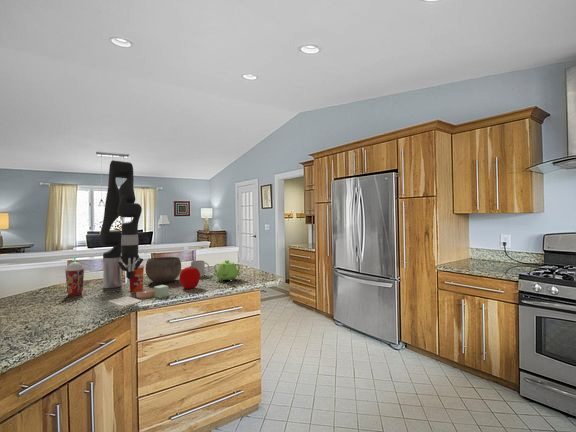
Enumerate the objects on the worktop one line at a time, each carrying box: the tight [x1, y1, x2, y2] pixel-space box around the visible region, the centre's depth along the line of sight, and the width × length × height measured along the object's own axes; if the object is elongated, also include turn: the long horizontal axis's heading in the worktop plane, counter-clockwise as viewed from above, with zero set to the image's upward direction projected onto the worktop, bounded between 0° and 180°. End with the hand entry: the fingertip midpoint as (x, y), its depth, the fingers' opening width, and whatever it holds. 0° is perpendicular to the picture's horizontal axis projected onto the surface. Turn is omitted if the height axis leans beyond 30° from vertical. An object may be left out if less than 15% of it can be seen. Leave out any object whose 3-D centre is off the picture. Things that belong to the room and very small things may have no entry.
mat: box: [108, 295, 142, 307], centre depth 155 cm, size 17×26×1 cm, turn 144°
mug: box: [190, 260, 210, 278], centre depth 213 cm, size 11×10×10 cm
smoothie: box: [64, 256, 85, 297], centre depth 166 cm, size 8×8×20 cm
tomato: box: [179, 265, 201, 290], centre depth 177 cm, size 11×11×13 cm
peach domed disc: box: [135, 288, 155, 300], centre depth 160 cm, size 9×9×2 cm
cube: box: [153, 284, 169, 299], centre depth 159 cm, size 5×5×5 cm
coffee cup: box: [128, 262, 145, 293], centre depth 171 cm, size 8×8×15 cm
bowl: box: [145, 256, 182, 283], centre depth 196 cm, size 21×21×15 cm
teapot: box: [213, 259, 242, 282], centre depth 199 cm, size 16×14×13 cm
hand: (129, 278), depth 154 cm, fingers closed
